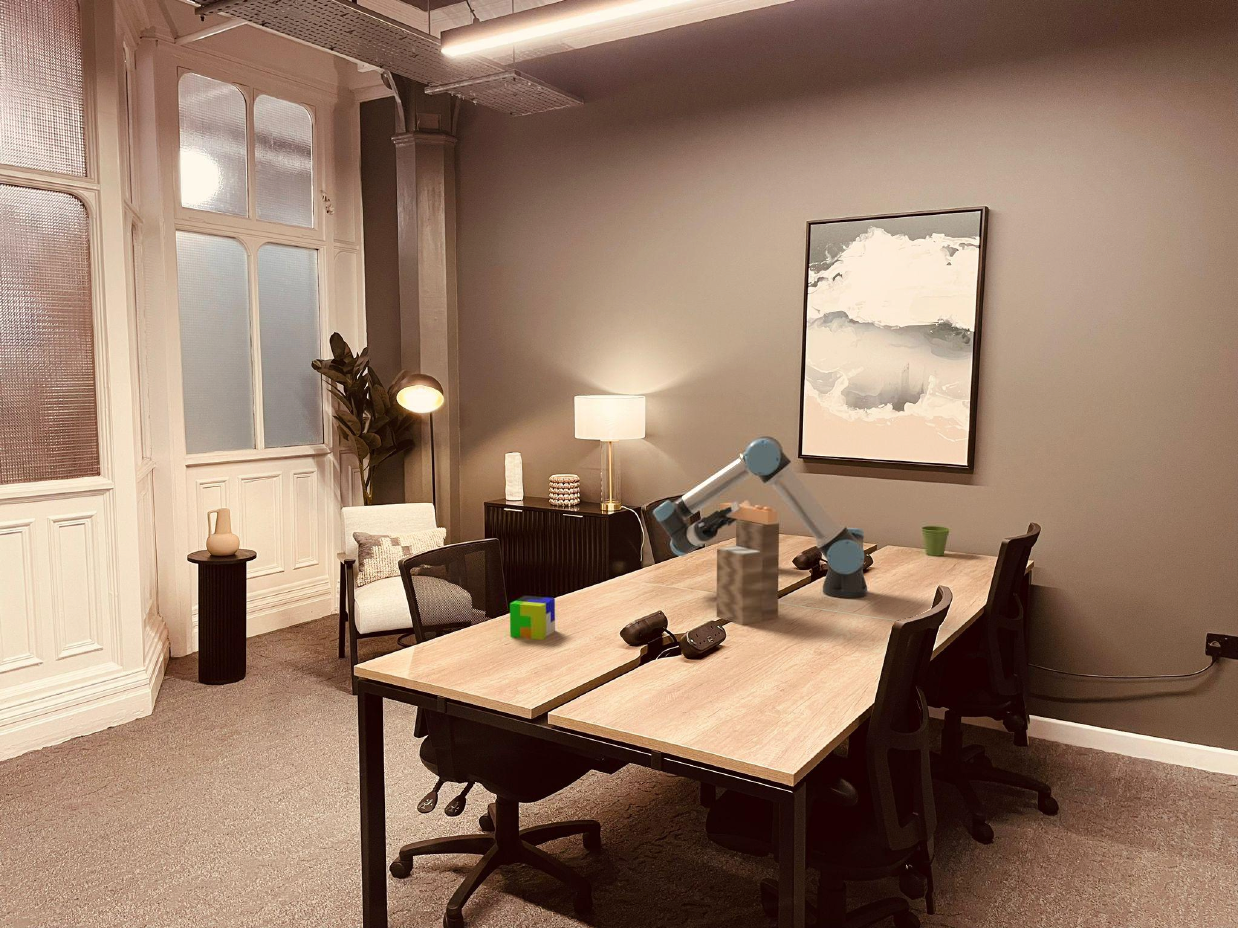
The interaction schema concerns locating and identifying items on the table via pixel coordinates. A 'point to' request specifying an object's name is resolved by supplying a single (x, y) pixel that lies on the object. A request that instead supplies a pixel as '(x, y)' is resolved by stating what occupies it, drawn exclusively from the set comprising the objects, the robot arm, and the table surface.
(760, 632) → the table surface
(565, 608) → the table surface
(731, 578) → the step stand
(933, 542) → the plant pot
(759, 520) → the orange beam
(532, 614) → the puzzle toy
